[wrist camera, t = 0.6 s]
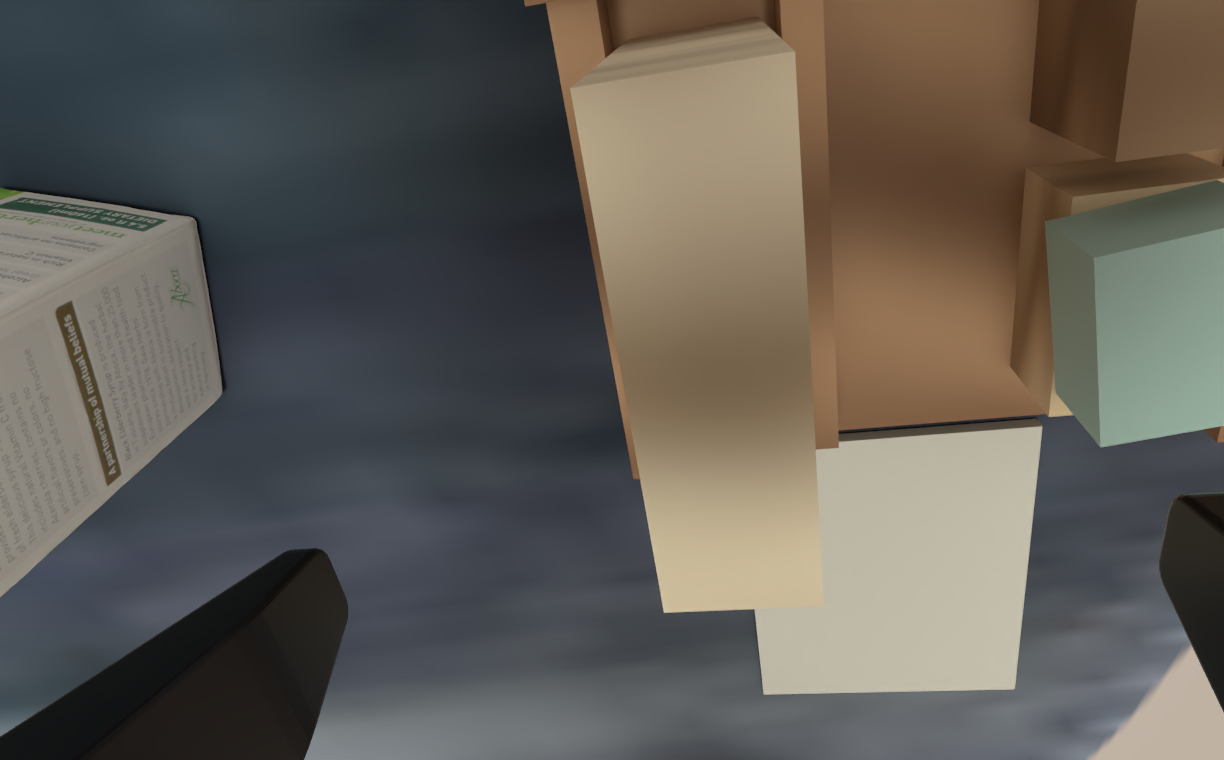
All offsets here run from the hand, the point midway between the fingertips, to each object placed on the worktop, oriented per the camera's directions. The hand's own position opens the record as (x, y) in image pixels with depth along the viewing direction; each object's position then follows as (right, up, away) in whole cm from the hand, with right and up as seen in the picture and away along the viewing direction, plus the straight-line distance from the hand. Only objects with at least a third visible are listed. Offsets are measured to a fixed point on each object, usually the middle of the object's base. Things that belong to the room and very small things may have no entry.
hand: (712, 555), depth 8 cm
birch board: (+1, +6, +10) cm, 12 cm away
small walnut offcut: (+9, +9, +7) cm, 15 cm away
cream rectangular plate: (+7, -4, +15) cm, 17 cm away
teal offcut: (+9, +4, +7) cm, 13 cm away
